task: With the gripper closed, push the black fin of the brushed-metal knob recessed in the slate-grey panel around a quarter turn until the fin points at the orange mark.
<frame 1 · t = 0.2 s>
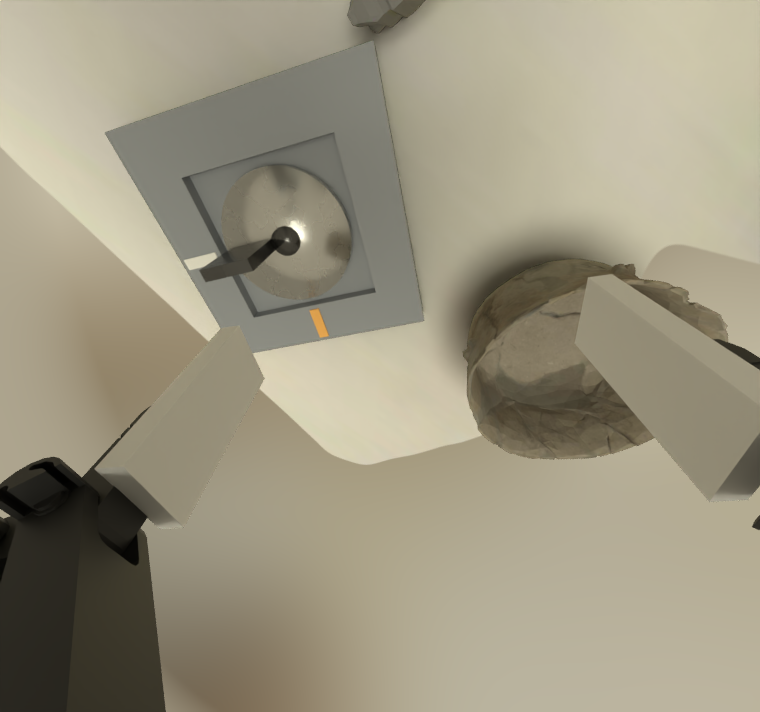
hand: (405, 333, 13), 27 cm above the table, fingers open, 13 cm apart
panel: (294, 233, 37), on the table
bowl: (532, 315, 42), on the table
dial: (279, 247, 32), point 6 cm above the table, hinge at 0.0°
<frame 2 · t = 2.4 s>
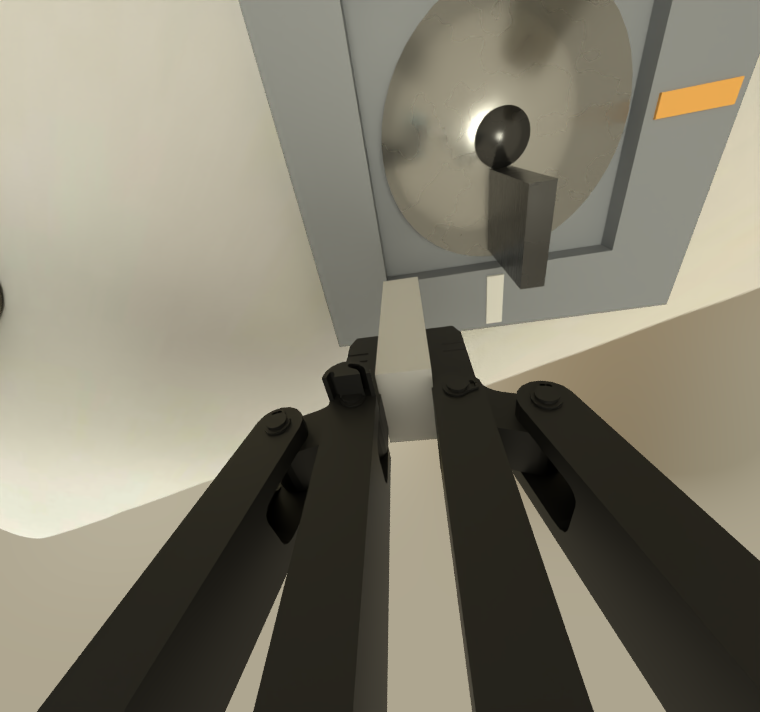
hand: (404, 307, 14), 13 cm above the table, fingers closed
panel: (487, 137, 21), on the table
dial: (515, 138, 16), point 6 cm above the table, hinge at 0.0°
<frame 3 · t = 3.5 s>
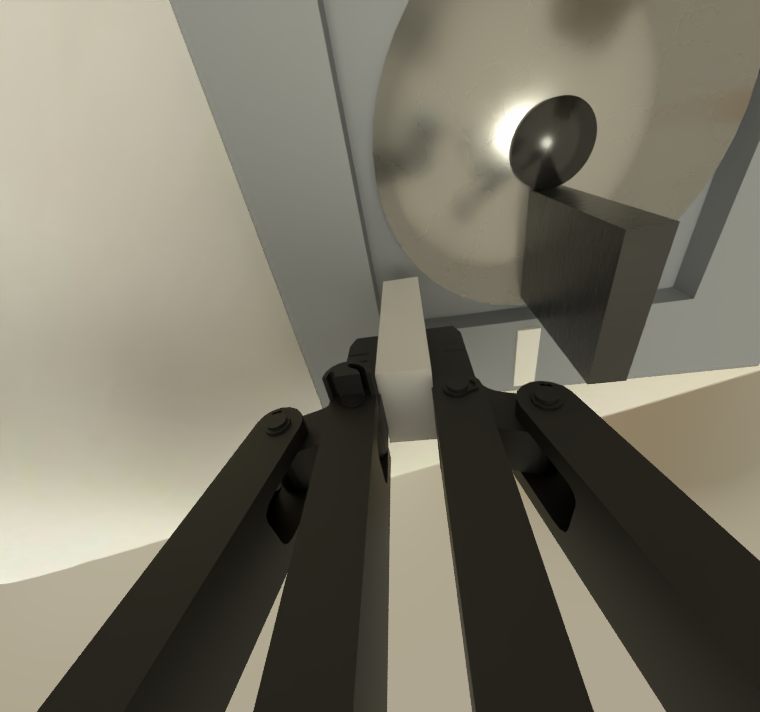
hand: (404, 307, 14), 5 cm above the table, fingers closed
panel: (522, 143, 15), on the table
dial: (581, 147, 10), point 6 cm above the table, hinge at 0.0°
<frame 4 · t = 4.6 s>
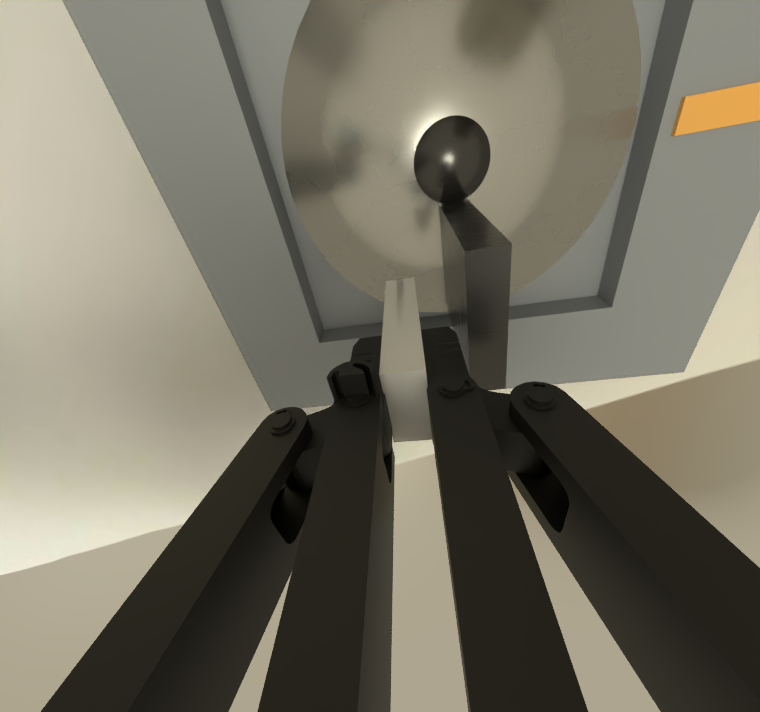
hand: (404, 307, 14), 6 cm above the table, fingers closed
panel: (441, 156, 16), on the table
dial: (460, 167, 11), point 6 cm above the table, hinge at 1.0°, touching gripper
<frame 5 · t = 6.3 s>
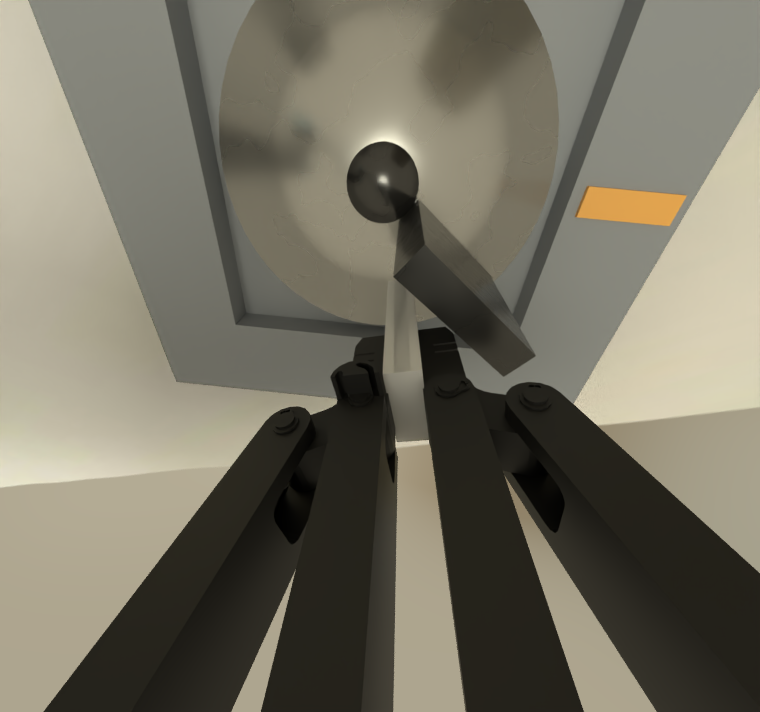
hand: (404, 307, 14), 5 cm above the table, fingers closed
panel: (387, 175, 16), on the table
dial: (378, 193, 11), point 6 cm above the table, hinge at 52.4°, touching gripper
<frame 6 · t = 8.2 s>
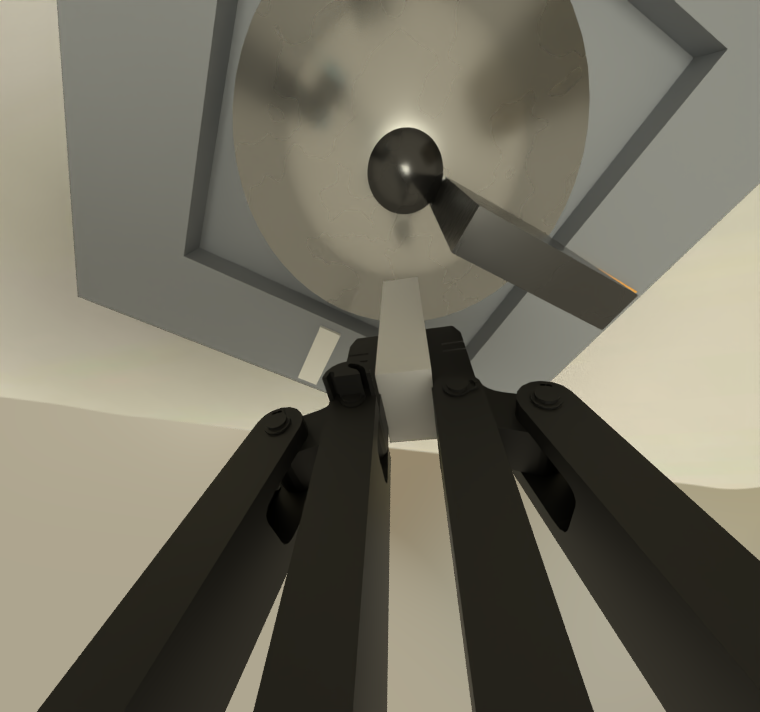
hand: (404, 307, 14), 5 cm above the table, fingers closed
panel: (403, 166, 16), on the table
dial: (406, 180, 11), point 6 cm above the table, hinge at 91.0°
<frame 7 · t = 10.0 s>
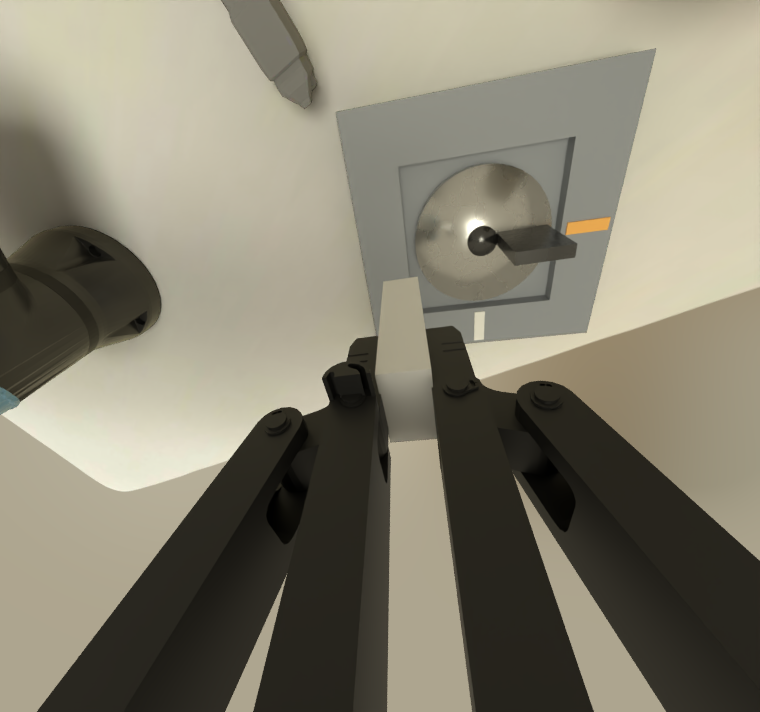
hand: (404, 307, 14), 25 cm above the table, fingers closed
panel: (476, 232, 36), on the table
dial: (487, 247, 32), point 6 cm above the table, hinge at 91.0°
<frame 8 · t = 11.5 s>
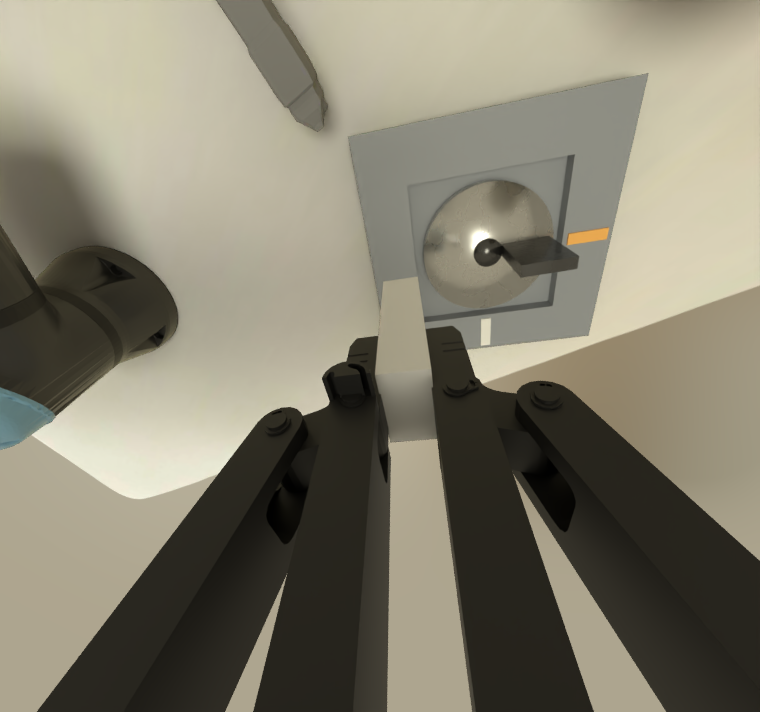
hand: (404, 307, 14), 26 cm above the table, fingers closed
panel: (481, 244, 38), on the table
dial: (493, 259, 33), point 6 cm above the table, hinge at 91.0°
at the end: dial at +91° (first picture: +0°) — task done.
